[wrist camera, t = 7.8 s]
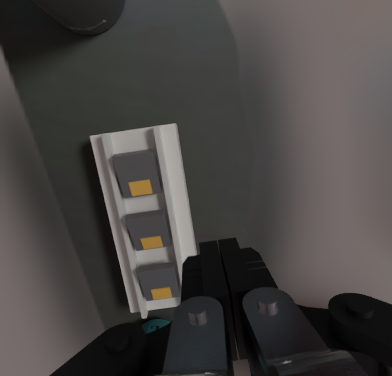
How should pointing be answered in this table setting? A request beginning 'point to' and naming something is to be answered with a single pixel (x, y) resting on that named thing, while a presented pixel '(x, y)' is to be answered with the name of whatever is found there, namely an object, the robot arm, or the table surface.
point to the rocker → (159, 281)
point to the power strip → (147, 207)
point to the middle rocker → (148, 229)
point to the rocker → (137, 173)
